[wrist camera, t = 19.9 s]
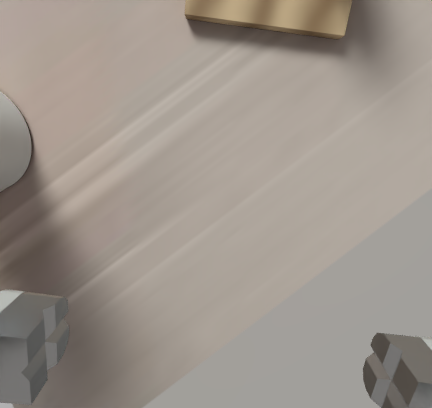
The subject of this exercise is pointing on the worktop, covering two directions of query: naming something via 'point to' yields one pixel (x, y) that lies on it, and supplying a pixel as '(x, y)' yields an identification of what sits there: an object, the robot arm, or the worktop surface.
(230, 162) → the worktop surface
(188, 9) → the oak board
